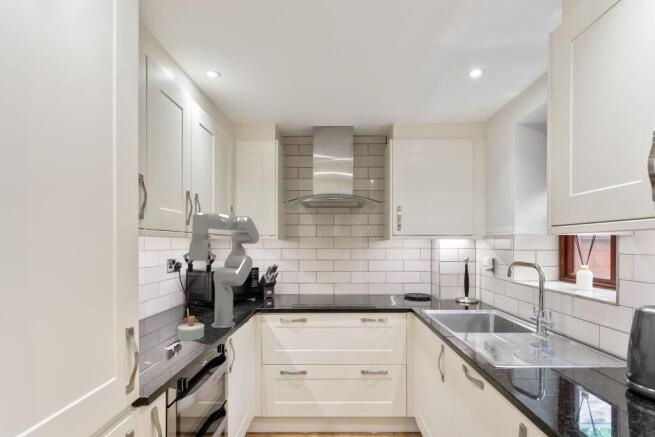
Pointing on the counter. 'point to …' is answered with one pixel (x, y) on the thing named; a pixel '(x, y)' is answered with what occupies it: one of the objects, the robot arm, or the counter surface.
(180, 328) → the lid
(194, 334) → the bowl
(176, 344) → the mat
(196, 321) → the cupcake
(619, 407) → the counter surface
